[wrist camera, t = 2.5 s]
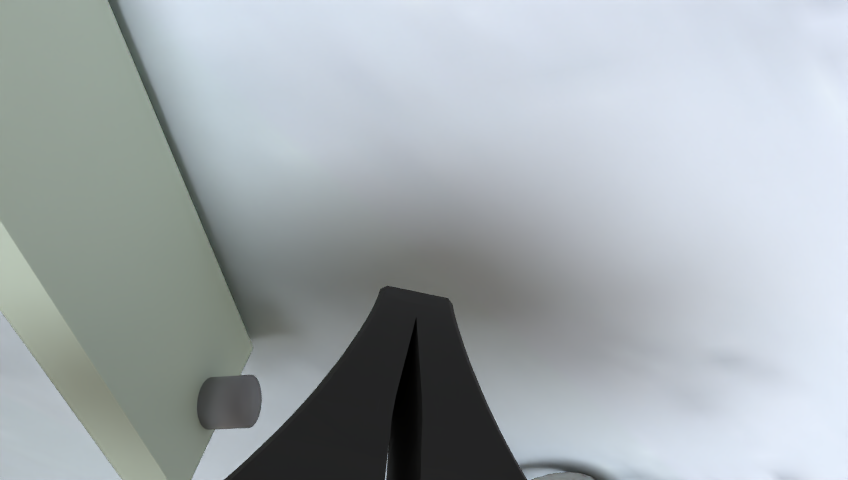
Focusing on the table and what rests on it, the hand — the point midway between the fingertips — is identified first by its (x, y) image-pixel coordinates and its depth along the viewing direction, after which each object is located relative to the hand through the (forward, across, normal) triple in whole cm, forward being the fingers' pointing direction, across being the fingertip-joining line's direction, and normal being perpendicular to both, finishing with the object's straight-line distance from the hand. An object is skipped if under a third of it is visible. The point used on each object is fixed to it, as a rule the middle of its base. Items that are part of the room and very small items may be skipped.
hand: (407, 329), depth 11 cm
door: (+3, +6, 0) cm, 6 cm away
